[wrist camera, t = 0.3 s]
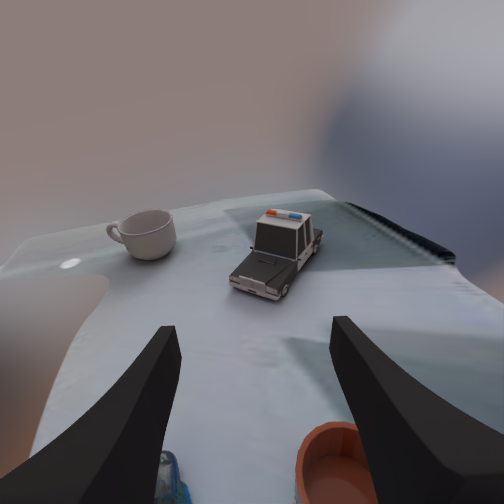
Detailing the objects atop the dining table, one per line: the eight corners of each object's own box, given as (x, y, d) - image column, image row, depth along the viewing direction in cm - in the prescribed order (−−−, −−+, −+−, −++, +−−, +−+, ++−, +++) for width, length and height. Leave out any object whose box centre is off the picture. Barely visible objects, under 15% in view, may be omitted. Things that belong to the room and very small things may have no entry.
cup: (414, 575, 20) (435, 552, 17) (303, 577, 20) (305, 556, 17) (373, 450, 26) (383, 419, 24) (290, 453, 27) (290, 423, 24)
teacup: (188, 241, 64) (180, 208, 60) (165, 269, 55) (154, 233, 51) (134, 238, 68) (124, 207, 63) (105, 264, 59) (90, 230, 54)
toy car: (227, 289, 49) (219, 238, 43) (280, 235, 63) (279, 192, 58) (280, 306, 44) (278, 252, 39) (324, 244, 59) (327, 198, 53)
